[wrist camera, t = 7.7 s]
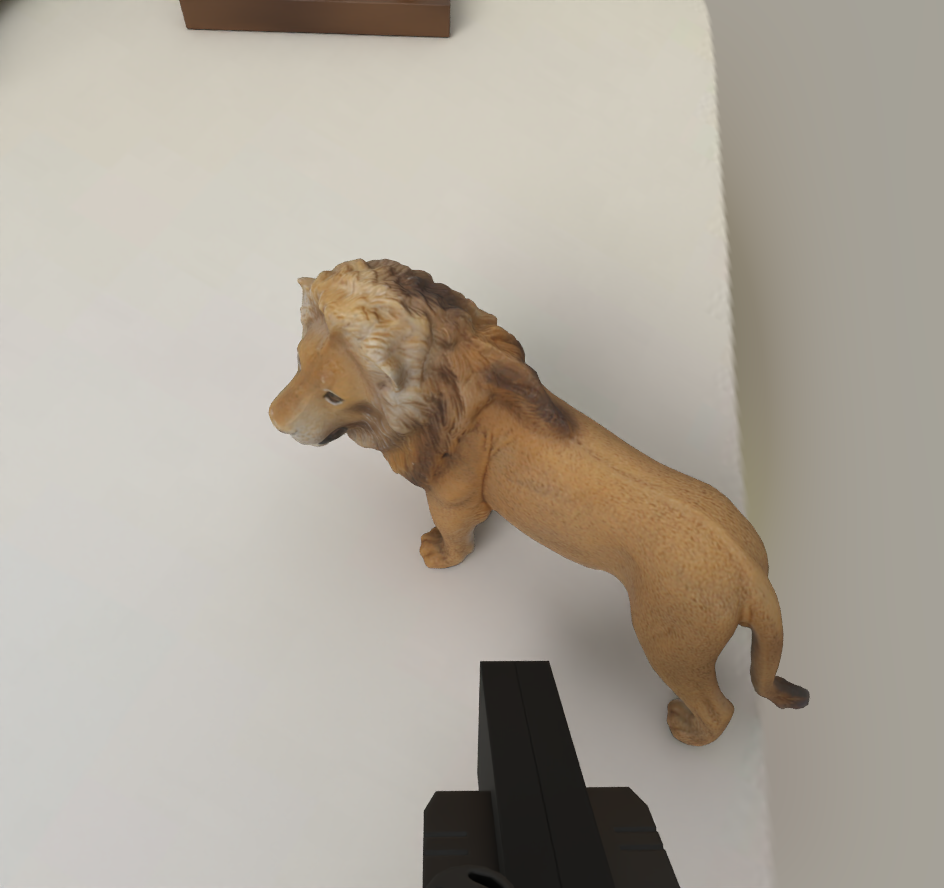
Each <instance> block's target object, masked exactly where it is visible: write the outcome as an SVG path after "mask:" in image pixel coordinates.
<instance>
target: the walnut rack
mask: <svg viewBox="0 0 944 888" xmlns="http://www.w3.org/2000/svg"><path fill="white" fill-rule="evenodd" d="M179 1H180V5H181V8H182V12H183V16H184V20H185V24H186V27H187V28H188V29H216V30H246V31H277V32H308V33H338V34H369V35H400V36H431V37H449V36H450V0H179Z"/></svg>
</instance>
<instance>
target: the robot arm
mask: <svg viewBox="0 0 944 888" xmlns="http://www.w3.org/2000/svg"><path fill="white" fill-rule="evenodd" d="M477 774H478V786H479V791H436V792H435V793H434V795H433V797H432V798H431V800H430V802H429V803H428V805H427V807H426V808H425V810H424V838H423V888H680V886H679V884H678V881H677V879H676V876H675V874H674V871H673V869H672V866H671V863H670V861H669V858H668V856H667V853H666V851H665V850H664V849H663V843H662V841H661V838H660V836H659V833H658V832H657V831H656V826H655V823H654V821H653V818H652V816H651V813H650V811H649V808H648V806H647V805H646V804H645V803H644V802H643V801H642V800H641V799H640V798H639V797H638V796H637V795H636V794H635V793H634V792H633V791H632V790H631V789H630V788H629V787H586V786H585V782H584V779H583V775H582V772H581V769H580V765H579V762H578V758H577V755H576V752H575V748H574V745H573V741H572V738H571V735H570V731H569V728H568V724H567V721H566V718H565V714H564V711H563V707H562V704H561V701H560V697H559V694H558V690H557V687H556V684H555V680H554V677H553V673H552V670H551V667H550V663H549V661H480V690H479V729H478V768H477Z"/></svg>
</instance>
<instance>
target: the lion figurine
mask: <svg viewBox="0 0 944 888" xmlns="http://www.w3.org/2000/svg"><path fill="white" fill-rule="evenodd" d="M297 281H298V283H299V284H300V285H301V287H302V289H303V299H302V307H301V308H300V311H301V323H302V325H303V332H302V340H301V341H300V343H299V345H298V348H297V351H298V355H297V359H298V371H297V373H296V375H295V376H294V378H293V379H292V380H291V382H290V383H289V384H288V385H287V386H286V387H285V388H284V389H283V390H282V391H281V392H280V393H279V395H278V396H277V397H276V398H275V399H274V401H273V402H272V403H271V406H270V408H269V416H270V419H271V421H272V423H273V425H274V426H275V427H276V428H277V429H278V430H279V431H280V432H282V433H286V434H290V435H291V436H292V437H293V438H294V439H295V440H296V441H298V442H299V443H301V444H304V445H312V446H324V445H326V444H328V443H329V442H331V441H333V440H335V439H337V438H339V437H340V436H342V435H343V434H345V433H347V434H348V436H349V437H350V438H351V439H352V440H353V441H355V442H356V443H357V444H358V445H360V446H362V447H364V448H373V449H375V450H379V451H381V452H382V453H383V455H384V457H385V459H386V460H387V461H388V462H389V464H390V466H391V468H392V470H393V471H394V472H395V473H397V474H398V473H399V474H400V475H402V476H403V477H405V478H406V479H407V480H409V481H410V482H411V483H413V484H414V485H416V486H419V487H422V488H423V489H424V490H425V491H426V496H427V500H428V504H429V510H430V513H431V516H432V519H433V522H434V524H435V526H436V527H434V528H433V529H432V530H431V531H430V532H428V533H425V534H423V535H422V536H421V547H420V554H421V556H422V557H423V559H424V562H425V564H426V566H427V567H429V568H447V567H451V566H455V565H457V564H459V563H461V562H462V561H463V560H464V559H465V557H466V556H467V555H468V554H469V553H472V552H473V550H474V547H475V544H474V533H473V530H474V528H475V527H476V526H477V524H479V523H482V522H484V521H485V520H486V519H487V518H488V516H489V515H490V513H491V511H492V510H495V511H497V512H498V513H499V514H500V515H501V516H502V517H504V518H505V519H506V520H507V521H508V522H510V523H511V524H512V525H514V526H515V527H516V528H518V529H519V530H520V531H522V532H523V533H525V534H526V535H527V536H529V537H530V538H532V539H534V540H535V541H537V542H539V543H540V544H542V545H544V546H546V547H547V548H549V549H551V550H552V551H554V552H556V553H558V554H560V555H561V556H563V557H565V558H567V559H569V560H572V561H574V562H576V563H578V564H581V565H583V566H586V567H588V568H591V569H595V570H603V571H606V572H608V573H610V574H612V575H614V576H615V577H617V578H618V579H619V580H620V581H621V582H622V583H623V585H624V586H625V588H626V590H627V592H628V595H629V600H630V607H631V617H632V624H633V627H634V630H635V632H636V635H637V637H638V640H639V642H640V644H641V646H642V648H643V650H644V653H645V655H646V657H647V659H648V661H649V663H650V664H651V666H652V668H653V669H654V670H655V672H656V673H657V674H658V675H659V677H660V678H661V679H662V680H663V681H664V682H665V683H666V684H667V685H668V686H669V687H670V688H671V689H672V691H673V692H674V693H675V694H676V695H677V696H678V697H679V698H678V699H675V700H672V701H670V702H669V704H668V707H667V708H668V715H667V723H668V725H669V727H670V730H671V733H672V734H673V736H674V737H675V738H676V739H678V740H679V741H681V742H683V743H685V744H688V745H693V746H703V745H706V744H709V743H711V742H713V741H714V740H716V739H717V738H718V737H719V736H720V735H721V734H722V733H723V731H724V730H725V728H726V727H727V725H728V723H729V721H730V720H731V718H732V716H733V713H734V706H733V704H732V703H731V702H730V701H729V700H728V699H727V698H726V697H725V696H724V695H723V693H722V692H721V690H720V688H719V686H718V682H717V678H716V672H715V663H716V660H717V658H718V656H719V654H720V653H721V651H722V650H723V648H724V647H725V645H726V644H727V642H728V641H729V640H730V638H731V637H732V636H733V634H734V632H735V630H736V628H737V626H738V624H739V625H741V626H743V627H749V628H751V629H752V646H751V667H750V675H751V681H752V684H753V686H754V689H755V691H756V692H757V693H758V694H759V695H760V696H762V697H764V698H767V699H769V700H770V701H772V702H773V703H774V704H775V705H776V706H778V707H779V708H781V709H784V708H793V709H800V708H804V707H805V706H807V705H808V702H809V697H810V696H809V692H808V690H806V689H804V688H802V687H800V686H797V685H794V684H792V683H790V682H788V681H786V680H785V679H784V678H781V677H779V676H775V675H776V672H777V669H778V666H779V662H780V658H781V653H782V647H783V626H782V618H781V610H780V606H779V602H778V598H777V595H776V593H775V591H774V589H773V587H772V585H771V583H770V581H769V579H768V570H769V566H768V559H767V553H766V550H765V547H764V545H763V542H762V540H761V538H760V537H759V535H758V534H757V532H756V531H755V529H754V528H753V526H752V525H751V523H750V522H749V521H748V520H747V519H746V518H745V517H744V516H743V515H742V514H741V513H740V511H739V510H738V509H737V508H736V507H735V506H734V504H733V503H732V502H731V501H730V500H729V499H728V498H727V497H726V496H725V495H723V494H722V493H721V492H719V491H718V490H717V489H715V488H714V487H712V486H711V485H709V484H707V483H704V482H702V481H700V480H697V479H695V478H693V477H690V476H688V475H685V474H683V473H681V472H678V471H676V470H674V469H672V468H669V467H667V466H665V465H663V464H660V463H659V462H657V461H655V460H653V459H652V458H650V457H648V456H647V455H645V454H643V453H642V452H640V451H639V450H637V449H635V448H634V447H632V446H630V445H629V444H627V443H626V442H624V441H623V440H621V439H620V438H619V437H617V436H616V435H614V434H613V433H611V432H610V431H609V430H607V429H606V428H604V427H603V426H601V425H600V424H598V423H597V422H595V421H594V420H592V419H591V418H589V417H588V416H586V415H584V414H583V413H581V412H579V411H578V410H576V409H575V408H573V407H572V406H570V405H569V404H567V403H566V402H564V401H563V400H561V399H560V398H558V397H557V396H555V395H554V394H552V393H551V392H550V391H549V390H548V389H546V388H545V387H544V386H543V385H542V384H541V382H540V380H539V377H538V375H537V372H536V371H535V370H534V369H532V368H531V367H530V366H528V365H527V364H525V353H524V350H523V348H522V346H521V344H520V342H519V341H517V340H516V338H515V337H514V336H513V335H512V334H509V333H508V332H507V331H506V330H504V329H503V328H501V327H499V326H497V318H496V317H495V316H494V315H492V314H488V313H486V312H484V311H483V310H481V309H478V307H477V306H476V304H475V303H474V302H473V301H472V300H470V299H466V298H465V296H464V295H463V294H461V293H459V292H457V291H454V290H451V289H450V288H449V287H448V286H446V285H444V284H442V283H434V282H433V279H432V276H431V275H430V274H429V273H427V272H425V271H422V270H411V269H410V268H409V267H408V266H405V265H401V264H400V263H399V262H396V261H392V260H388V259H382V260H372V261H368V262H365V261H364V260H363V259H356V260H352V261H347V262H343V263H341V264H339V265H337V266H336V267H335V268H334V269H333V270H332V271H323V272H321V273H320V274H319V275H318V277H317V278H316V279H314V278H308V277H302V278H298V280H297Z"/></svg>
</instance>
